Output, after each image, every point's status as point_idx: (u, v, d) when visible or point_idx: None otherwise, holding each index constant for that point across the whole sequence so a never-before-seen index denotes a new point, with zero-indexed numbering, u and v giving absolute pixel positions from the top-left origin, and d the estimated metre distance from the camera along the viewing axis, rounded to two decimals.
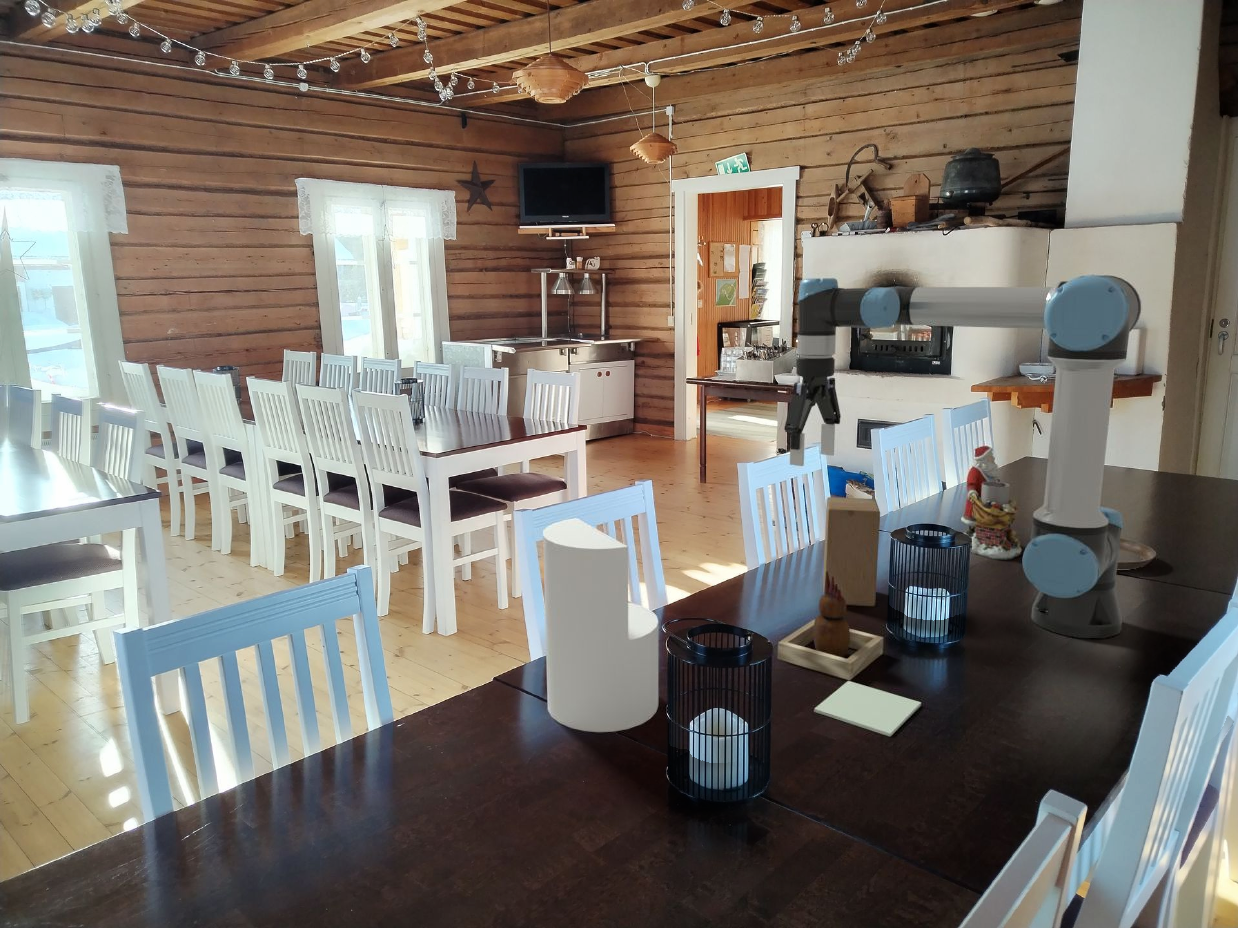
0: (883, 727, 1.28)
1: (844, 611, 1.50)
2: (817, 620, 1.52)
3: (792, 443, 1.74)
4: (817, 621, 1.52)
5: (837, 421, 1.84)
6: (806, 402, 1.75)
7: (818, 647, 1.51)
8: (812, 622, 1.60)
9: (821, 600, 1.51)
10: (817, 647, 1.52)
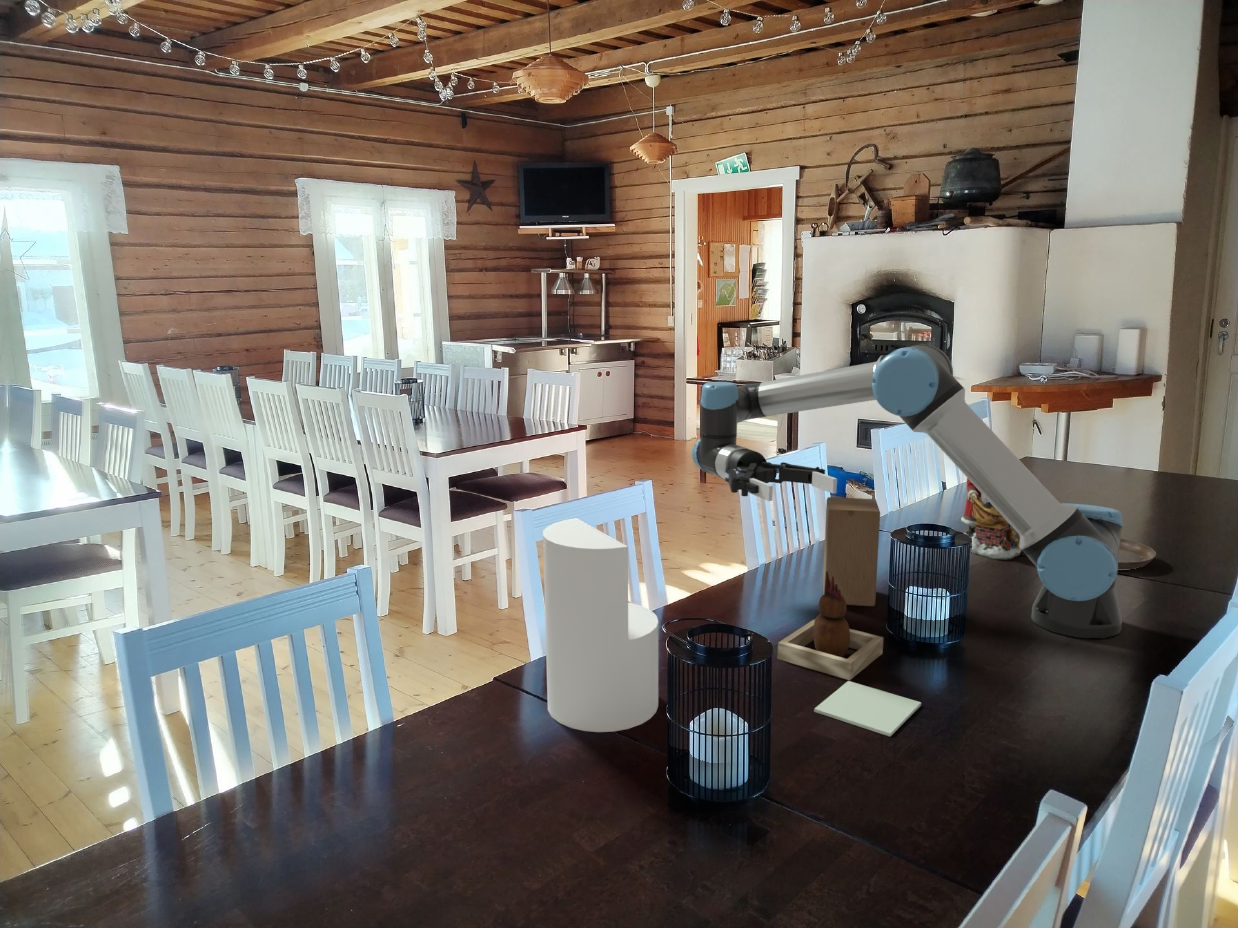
0: (883, 727, 1.28)
1: (844, 611, 1.50)
2: (817, 619, 1.52)
3: (749, 490, 1.57)
4: (817, 621, 1.52)
5: None
6: None
7: (818, 647, 1.51)
8: (812, 622, 1.60)
9: (821, 600, 1.51)
10: (817, 647, 1.52)
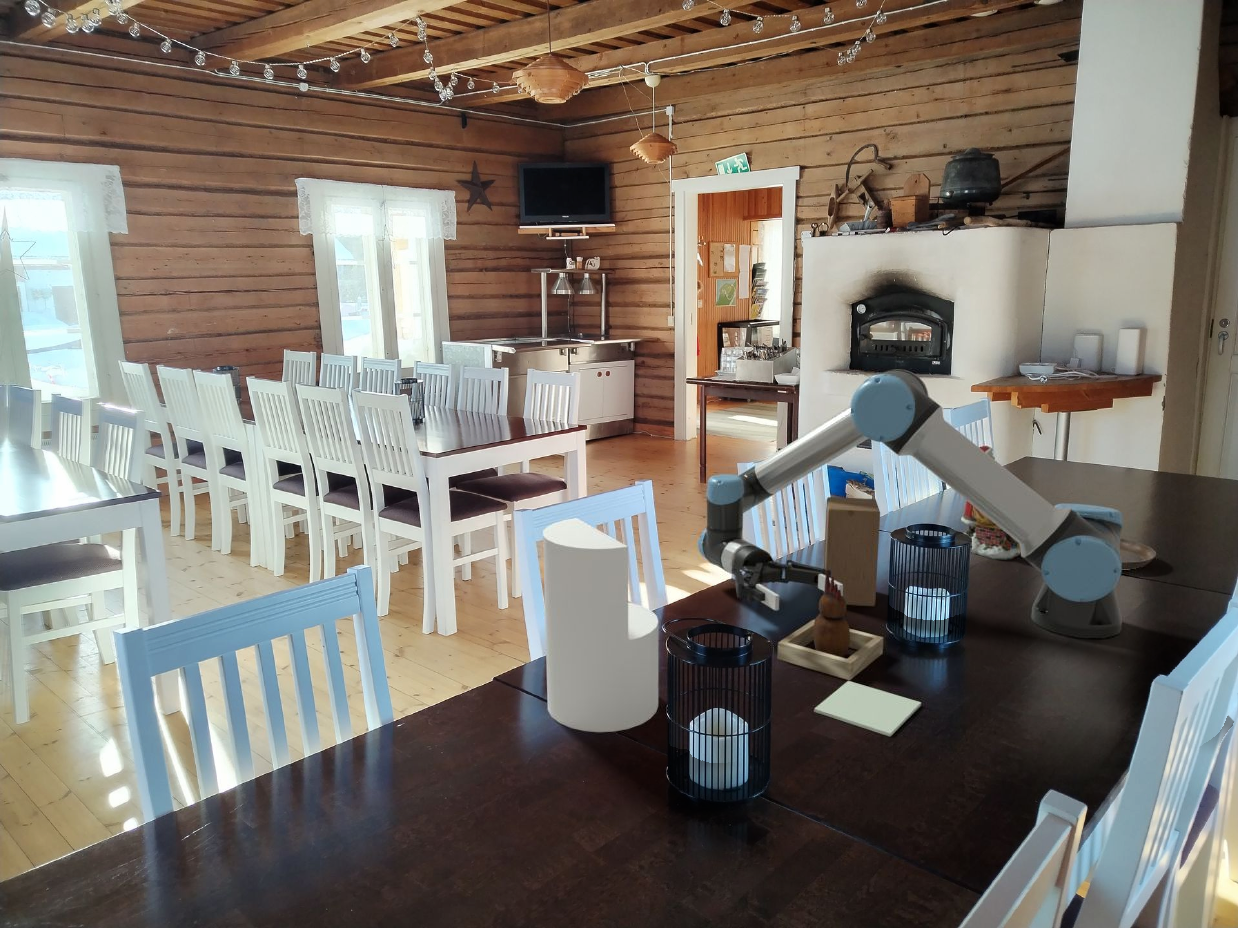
0: (883, 727, 1.28)
1: (844, 611, 1.50)
2: (817, 619, 1.52)
3: (755, 597, 1.58)
4: (817, 621, 1.52)
5: None
6: None
7: (818, 647, 1.51)
8: (812, 622, 1.60)
9: (821, 600, 1.51)
10: (817, 647, 1.52)
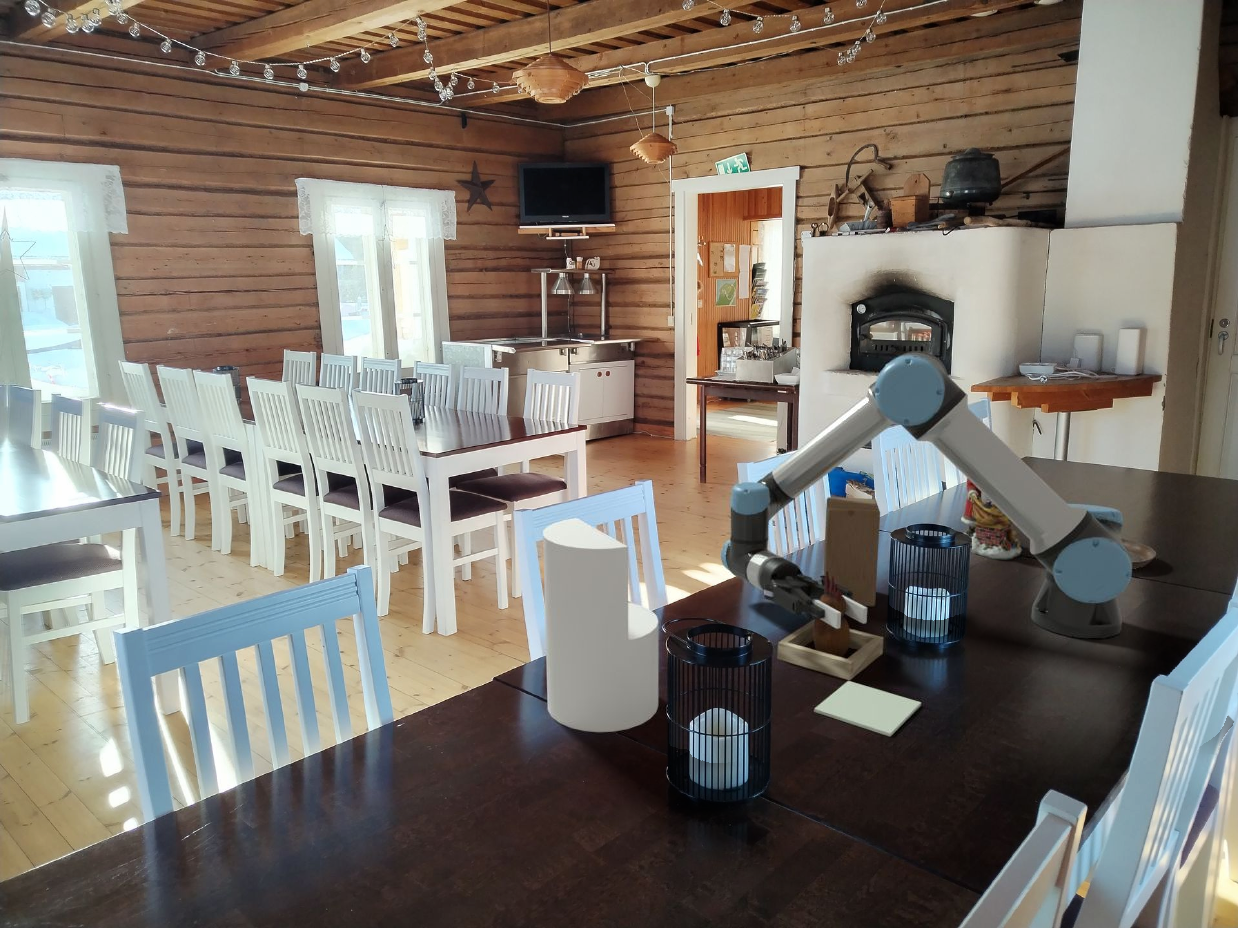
0: (883, 727, 1.28)
1: (844, 611, 1.50)
2: (817, 619, 1.52)
3: (814, 614, 1.49)
4: (817, 621, 1.52)
5: None
6: (792, 592, 1.58)
7: (818, 647, 1.51)
8: (812, 622, 1.60)
9: (821, 600, 1.51)
10: (817, 647, 1.52)
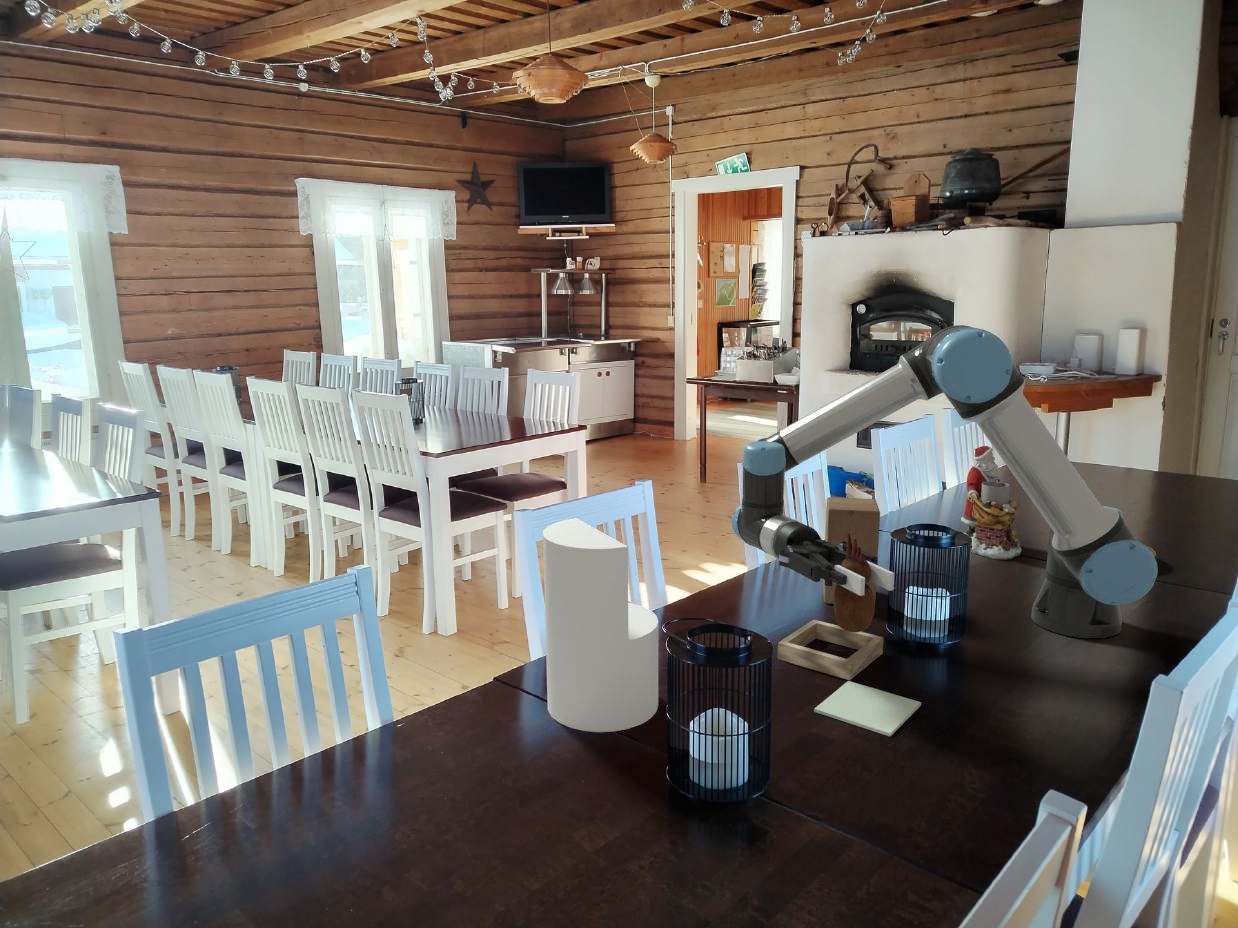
0: (883, 727, 1.28)
1: (868, 577, 1.34)
2: (837, 587, 1.37)
3: (835, 580, 1.34)
4: (838, 589, 1.36)
5: None
6: (810, 558, 1.42)
7: (838, 617, 1.36)
8: (812, 622, 1.60)
9: (842, 565, 1.35)
10: (838, 617, 1.36)
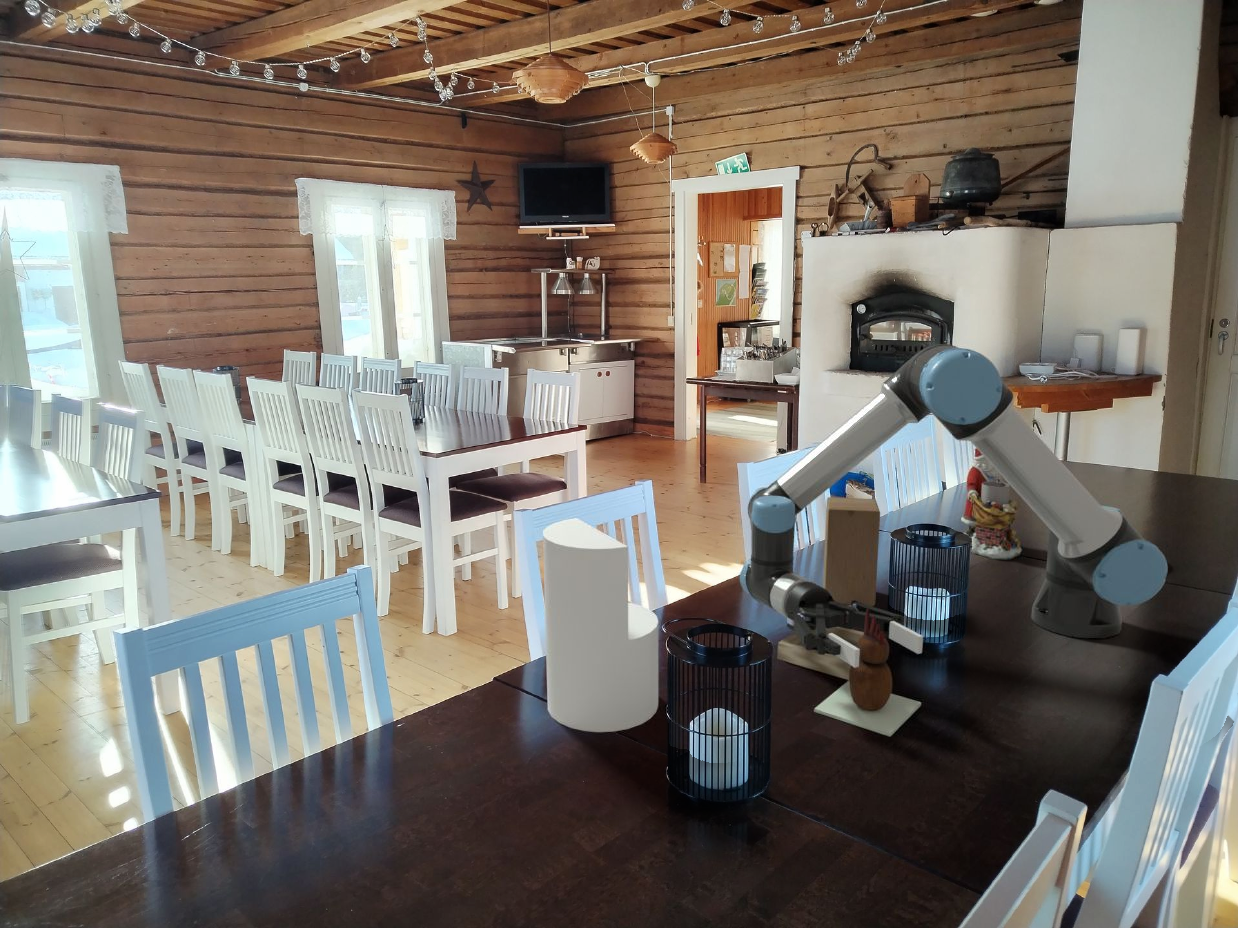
0: (883, 727, 1.28)
1: (887, 656, 1.31)
2: None
3: (828, 649, 1.30)
4: None
5: None
6: (816, 622, 1.39)
7: (854, 695, 1.33)
8: None
9: (860, 642, 1.32)
10: (854, 695, 1.33)
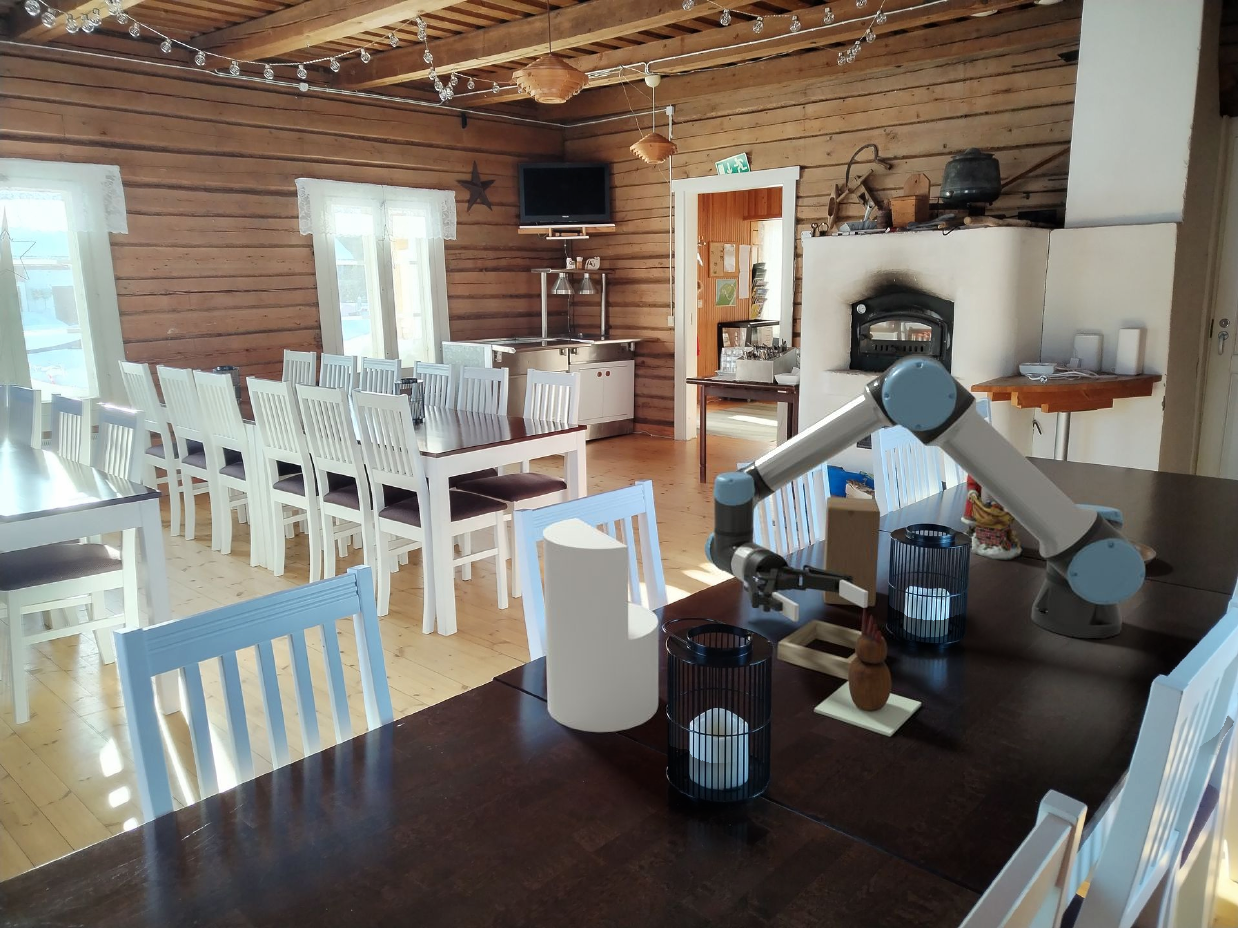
0: (883, 727, 1.28)
1: (885, 655, 1.31)
2: (853, 664, 1.33)
3: (772, 606, 1.43)
4: (853, 666, 1.33)
5: None
6: None
7: (854, 695, 1.33)
8: (812, 622, 1.60)
9: (858, 642, 1.32)
10: (853, 695, 1.33)
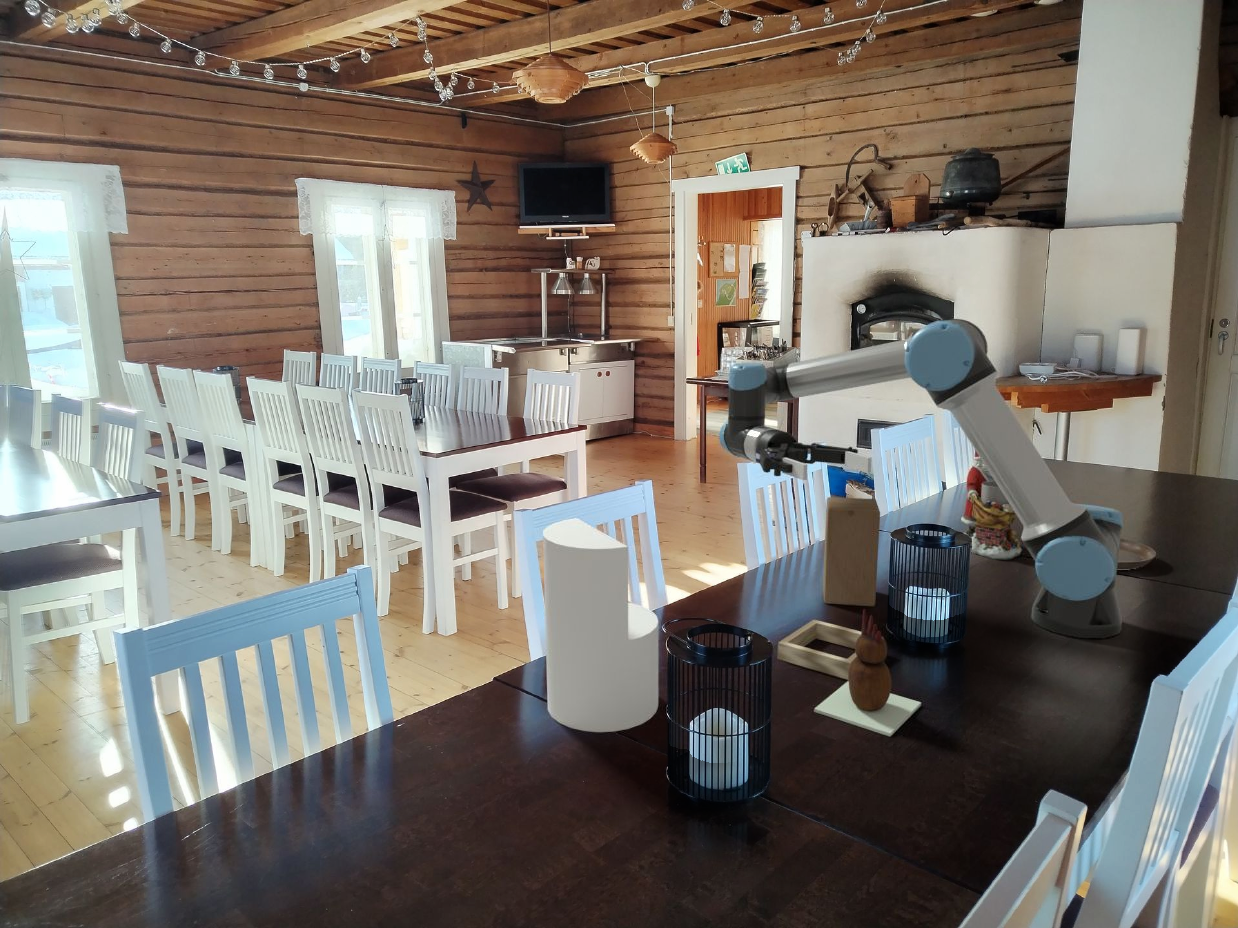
0: (883, 727, 1.28)
1: (885, 655, 1.31)
2: (853, 664, 1.33)
3: (782, 469, 1.54)
4: (853, 666, 1.33)
5: None
6: None
7: (854, 695, 1.33)
8: (812, 622, 1.60)
9: (858, 642, 1.32)
10: (853, 695, 1.33)
